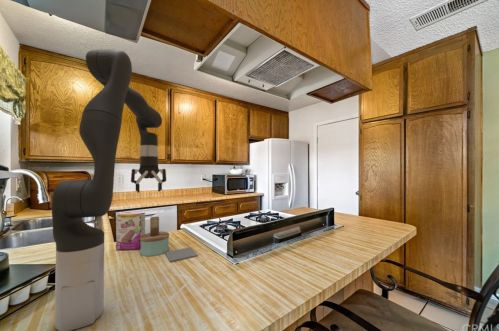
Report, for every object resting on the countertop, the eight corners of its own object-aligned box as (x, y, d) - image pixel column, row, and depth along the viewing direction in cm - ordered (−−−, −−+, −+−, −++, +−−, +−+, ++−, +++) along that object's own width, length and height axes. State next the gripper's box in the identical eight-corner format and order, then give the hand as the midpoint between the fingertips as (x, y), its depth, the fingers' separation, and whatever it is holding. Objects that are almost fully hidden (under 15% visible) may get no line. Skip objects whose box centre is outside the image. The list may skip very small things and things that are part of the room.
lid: (171, 238, 93) (171, 218, 93) (140, 243, 86) (140, 221, 87) (166, 232, 103) (166, 213, 103) (138, 236, 97) (138, 216, 97)
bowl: (169, 252, 92) (169, 238, 93) (141, 258, 87) (141, 243, 87) (165, 245, 102) (165, 232, 102) (139, 249, 96) (140, 236, 96)
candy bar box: (115, 250, 96) (115, 214, 96) (121, 246, 101) (122, 212, 101) (140, 250, 96) (140, 213, 96) (145, 246, 101) (145, 211, 101)
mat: (197, 256, 88) (197, 254, 88) (169, 262, 82) (169, 260, 82) (190, 248, 97) (190, 247, 97) (165, 253, 91) (165, 252, 91)
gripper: (131, 154, 88) (131, 193, 88) (167, 155, 96) (167, 191, 96) (130, 156, 95) (130, 192, 94) (164, 157, 102) (164, 190, 102)
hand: (149, 191), depth 95 cm, fingers open, 8 cm apart
